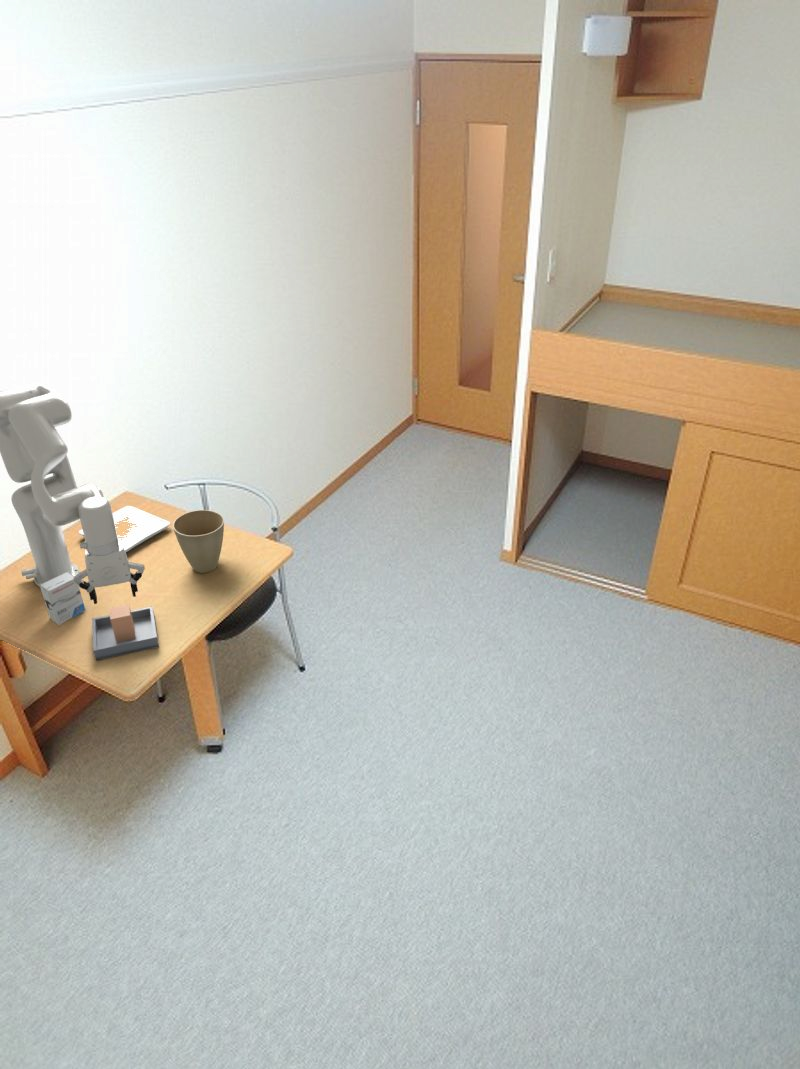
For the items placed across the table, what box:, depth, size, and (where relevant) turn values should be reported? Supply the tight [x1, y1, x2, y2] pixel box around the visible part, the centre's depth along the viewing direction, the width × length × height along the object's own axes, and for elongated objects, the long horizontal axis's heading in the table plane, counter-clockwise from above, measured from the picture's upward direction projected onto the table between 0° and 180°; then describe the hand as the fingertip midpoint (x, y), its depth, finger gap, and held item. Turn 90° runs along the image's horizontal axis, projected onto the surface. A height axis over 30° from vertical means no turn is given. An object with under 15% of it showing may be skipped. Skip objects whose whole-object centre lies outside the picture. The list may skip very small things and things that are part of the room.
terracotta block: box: [109, 604, 136, 643], centre depth 201 cm, size 5×5×8 cm
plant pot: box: [172, 509, 225, 573], centre depth 228 cm, size 15×15×16 cm
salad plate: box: [78, 505, 171, 554], centre depth 247 cm, size 21×21×3 cm
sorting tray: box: [91, 605, 160, 661], centre depth 203 cm, size 16×14×4 cm
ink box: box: [39, 572, 86, 625], centre depth 209 cm, size 8×5×12 cm, turn 141°
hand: (115, 597), depth 197 cm, fingers open, 9 cm apart
